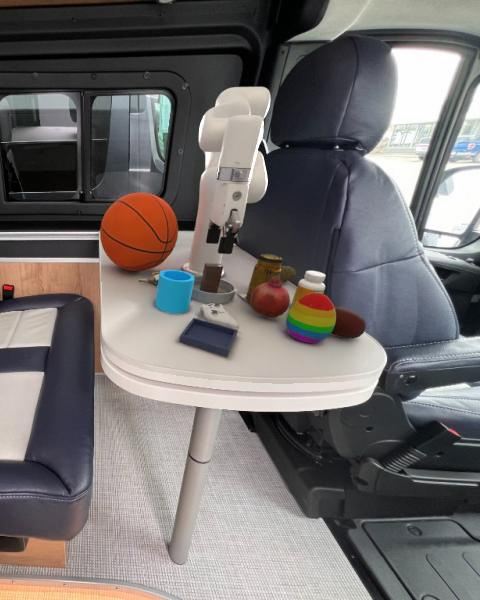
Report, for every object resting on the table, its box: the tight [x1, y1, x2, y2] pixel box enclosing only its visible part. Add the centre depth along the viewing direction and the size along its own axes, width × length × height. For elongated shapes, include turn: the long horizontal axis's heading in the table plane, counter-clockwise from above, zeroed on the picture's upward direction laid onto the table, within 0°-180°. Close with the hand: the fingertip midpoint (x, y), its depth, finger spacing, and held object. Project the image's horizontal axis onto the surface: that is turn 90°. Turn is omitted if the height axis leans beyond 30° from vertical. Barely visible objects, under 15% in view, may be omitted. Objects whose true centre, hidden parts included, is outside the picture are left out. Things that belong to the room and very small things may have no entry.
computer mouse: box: [138, 270, 162, 287], centre depth 92 cm, size 7×15×4 cm, turn 88°
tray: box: [178, 317, 239, 358], centre depth 66 cm, size 9×9×2 cm
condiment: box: [238, 253, 284, 304], centre depth 82 cm, size 7×8×12 cm
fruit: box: [249, 277, 291, 319], centre depth 74 cm, size 8×8×10 cm
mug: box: [154, 269, 195, 315], centre depth 80 cm, size 12×8×8 cm
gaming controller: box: [198, 303, 240, 331], centre depth 72 cm, size 10×4×7 cm
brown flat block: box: [200, 263, 227, 294], centre depth 85 cm, size 2×7×8 cm, turn 86°
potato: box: [330, 305, 367, 340], centre depth 68 cm, size 8×9×6 cm
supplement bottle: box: [290, 270, 326, 308], centre depth 78 cm, size 5×5×10 cm
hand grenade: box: [279, 265, 296, 284], centre depth 97 cm, size 5×6×10 cm
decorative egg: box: [285, 293, 336, 344], centre depth 66 cm, size 8×8×10 cm
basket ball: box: [99, 191, 179, 272], centre depth 100 cm, size 24×24×24 cm
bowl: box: [191, 276, 237, 305], centre depth 87 cm, size 13×13×3 cm
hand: (217, 248), depth 82 cm, fingers open, 9 cm apart
